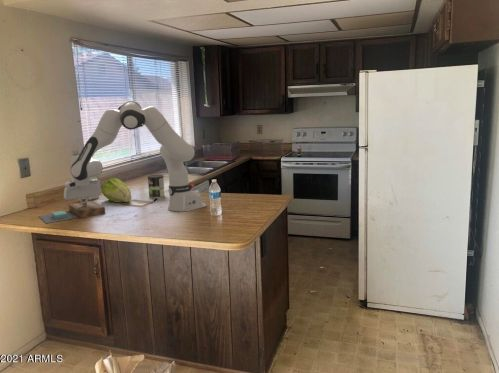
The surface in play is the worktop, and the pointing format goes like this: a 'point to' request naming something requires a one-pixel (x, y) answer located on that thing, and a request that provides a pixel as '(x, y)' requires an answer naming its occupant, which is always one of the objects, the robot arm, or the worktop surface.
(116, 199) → the lettuce
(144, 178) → the worktop surface
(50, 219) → the grey mat
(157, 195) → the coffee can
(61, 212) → the teal block
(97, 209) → the board
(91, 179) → the milk carton
